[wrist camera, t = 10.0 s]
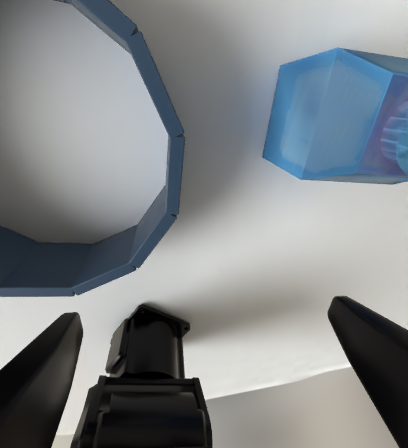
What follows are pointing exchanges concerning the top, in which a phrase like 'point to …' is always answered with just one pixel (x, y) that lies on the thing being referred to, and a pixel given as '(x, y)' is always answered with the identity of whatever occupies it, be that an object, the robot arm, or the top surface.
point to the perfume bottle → (341, 118)
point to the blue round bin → (119, 243)
